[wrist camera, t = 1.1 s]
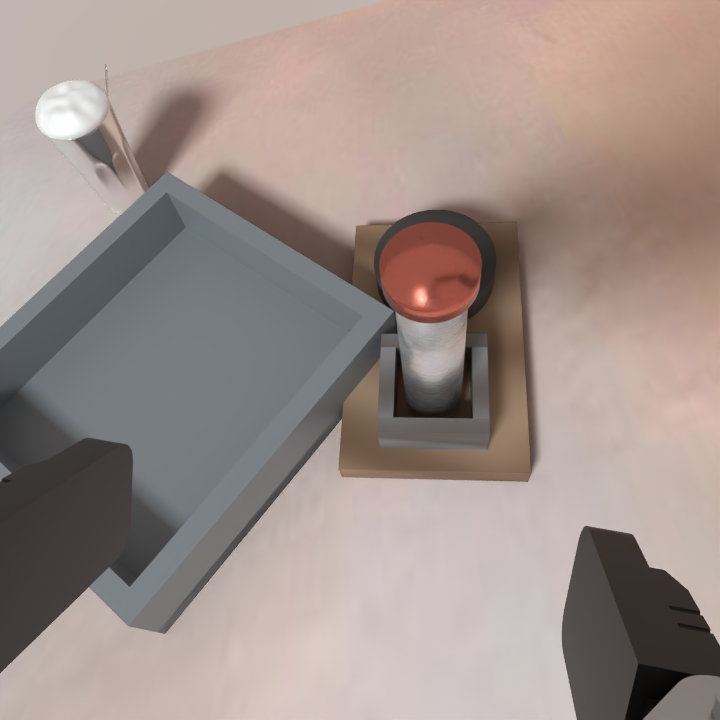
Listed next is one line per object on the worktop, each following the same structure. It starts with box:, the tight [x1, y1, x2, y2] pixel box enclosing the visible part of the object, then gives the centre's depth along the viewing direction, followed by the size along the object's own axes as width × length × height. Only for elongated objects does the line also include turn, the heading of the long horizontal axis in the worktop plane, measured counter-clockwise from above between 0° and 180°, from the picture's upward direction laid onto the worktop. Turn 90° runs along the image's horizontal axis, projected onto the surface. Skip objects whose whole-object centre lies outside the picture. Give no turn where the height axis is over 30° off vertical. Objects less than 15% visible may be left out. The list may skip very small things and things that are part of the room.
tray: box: [0, 172, 397, 634], centre depth 38 cm, size 20×18×4 cm
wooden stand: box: [339, 210, 531, 482], centre depth 38 cm, size 16×10×4 cm, turn 177°
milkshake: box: [35, 64, 149, 214], centre depth 43 cm, size 4×5×10 cm
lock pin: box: [379, 222, 482, 418], centre depth 31 cm, size 4×4×13 cm
